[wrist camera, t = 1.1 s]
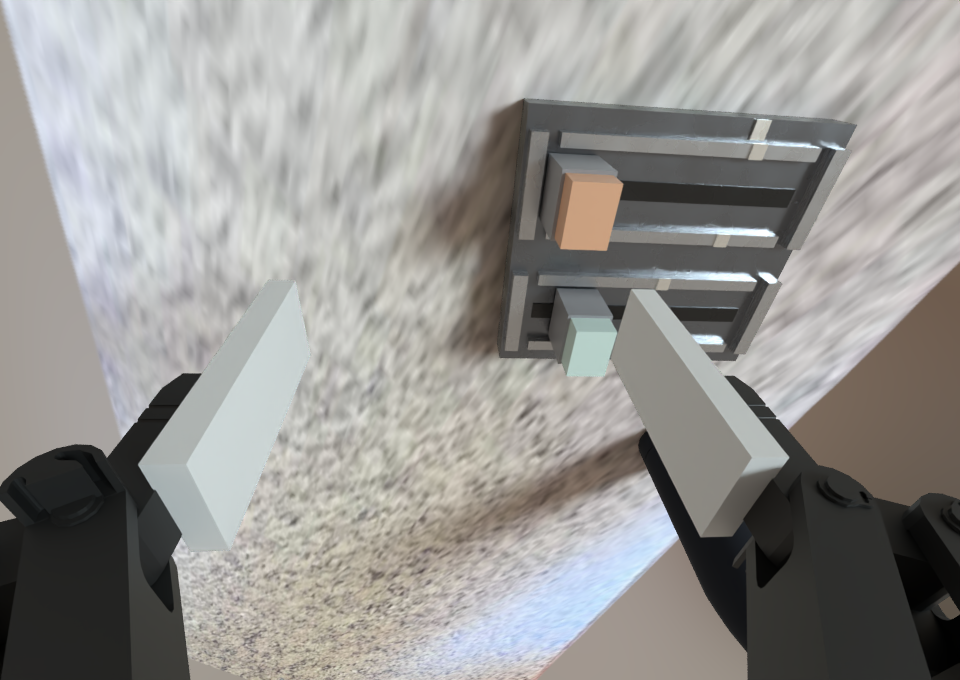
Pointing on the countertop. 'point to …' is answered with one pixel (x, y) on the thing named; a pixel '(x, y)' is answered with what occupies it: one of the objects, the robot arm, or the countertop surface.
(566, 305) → the knob
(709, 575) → the black water bottle
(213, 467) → the robot arm
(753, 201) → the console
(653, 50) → the countertop surface
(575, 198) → the knob
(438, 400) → the countertop surface
